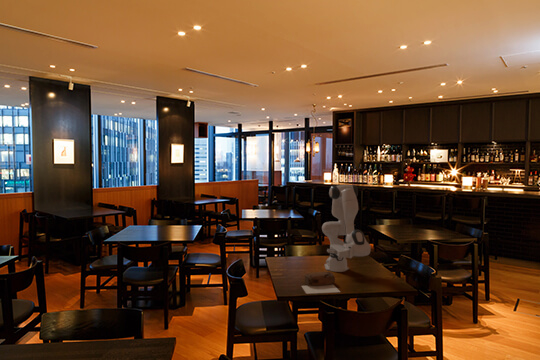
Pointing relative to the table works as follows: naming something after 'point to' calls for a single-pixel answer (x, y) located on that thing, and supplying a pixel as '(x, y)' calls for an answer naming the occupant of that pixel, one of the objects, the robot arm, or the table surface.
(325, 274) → the block
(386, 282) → the table surface
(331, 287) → the mat
